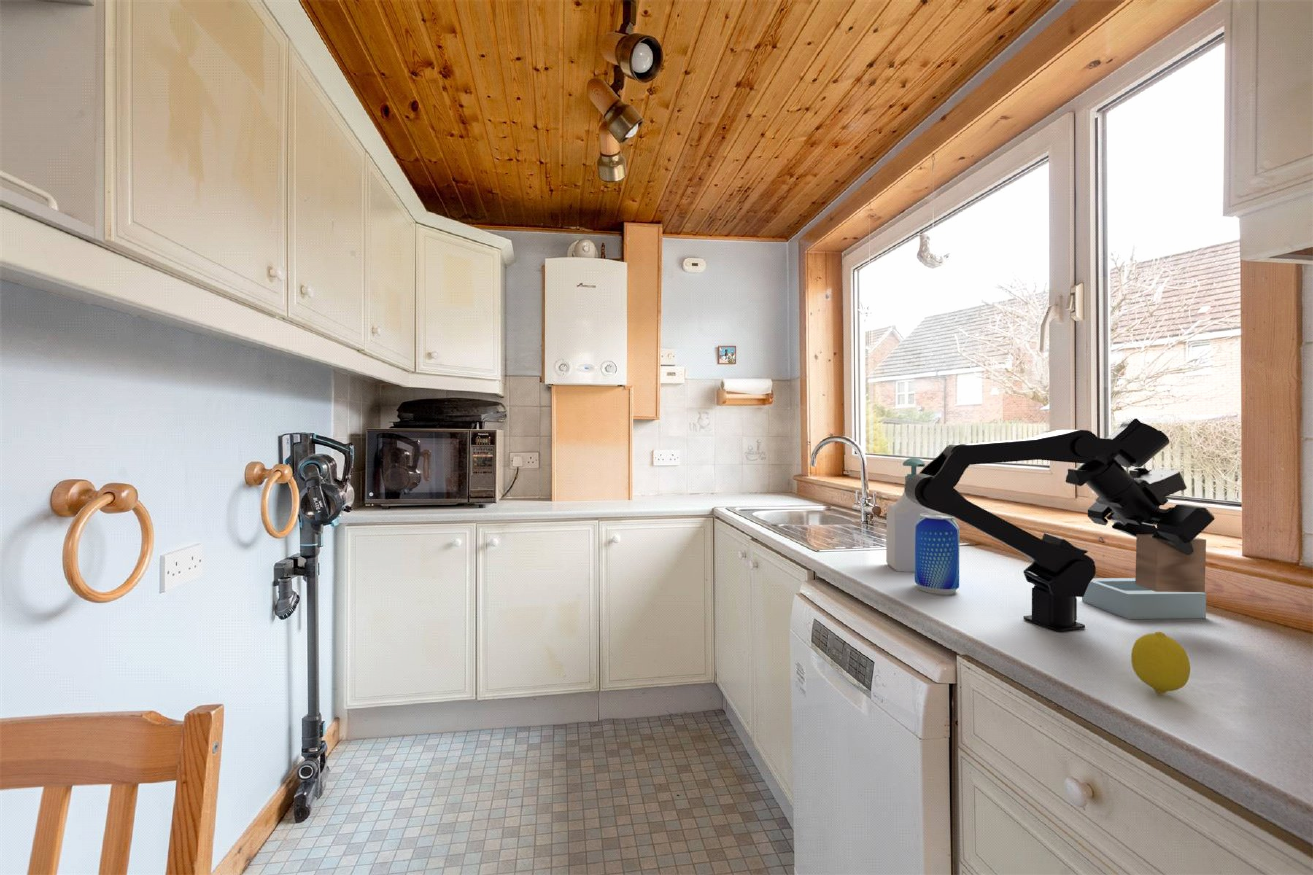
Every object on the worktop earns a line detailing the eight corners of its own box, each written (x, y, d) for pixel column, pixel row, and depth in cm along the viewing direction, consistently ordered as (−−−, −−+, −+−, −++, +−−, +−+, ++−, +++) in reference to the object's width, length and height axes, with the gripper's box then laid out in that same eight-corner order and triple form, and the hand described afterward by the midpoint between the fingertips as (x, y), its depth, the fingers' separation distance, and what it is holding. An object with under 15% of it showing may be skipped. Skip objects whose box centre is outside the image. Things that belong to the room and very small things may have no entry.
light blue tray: (1127, 618, 95) (1128, 594, 95) (1081, 600, 105) (1082, 578, 105) (1205, 618, 95) (1206, 593, 95) (1152, 600, 105) (1152, 577, 105)
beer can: (960, 587, 114) (960, 514, 114) (958, 598, 107) (958, 520, 106) (917, 581, 118) (917, 511, 118) (912, 591, 111) (912, 516, 111)
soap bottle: (897, 573, 126) (897, 458, 125) (886, 564, 134) (886, 456, 133) (945, 574, 124) (946, 458, 124) (931, 565, 133) (931, 457, 132)
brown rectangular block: (1156, 591, 89) (1157, 538, 89) (1135, 584, 93) (1136, 534, 93) (1204, 592, 89) (1206, 539, 89) (1181, 585, 93) (1183, 534, 93)
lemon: (1119, 684, 71) (1120, 625, 71) (1157, 682, 71) (1157, 623, 71) (1162, 705, 65) (1162, 641, 65) (1202, 703, 66) (1203, 639, 66)
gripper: (1203, 456, 81) (1275, 527, 81) (1104, 450, 100) (1162, 509, 100) (1150, 506, 82) (1221, 577, 81) (1061, 491, 100) (1119, 549, 100)
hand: (1178, 550), depth 91 cm, fingers closed on brown rectangular block, 4 cm apart
